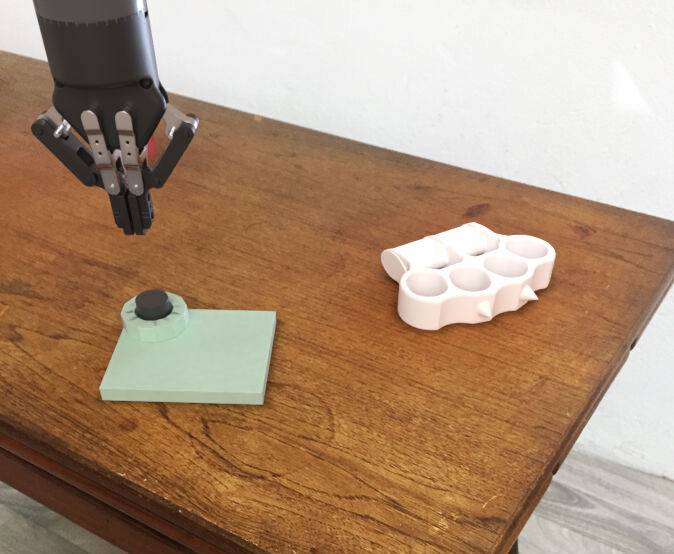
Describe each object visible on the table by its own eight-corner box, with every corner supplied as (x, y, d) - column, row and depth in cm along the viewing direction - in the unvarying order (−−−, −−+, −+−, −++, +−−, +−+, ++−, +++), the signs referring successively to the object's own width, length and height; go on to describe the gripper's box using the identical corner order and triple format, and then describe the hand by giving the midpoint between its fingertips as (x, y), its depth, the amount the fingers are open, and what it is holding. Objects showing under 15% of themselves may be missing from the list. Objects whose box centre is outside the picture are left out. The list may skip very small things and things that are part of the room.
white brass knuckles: (487, 234, 85) (579, 296, 76) (354, 279, 78) (438, 352, 69) (492, 206, 83) (587, 267, 74) (355, 250, 76) (442, 323, 67)
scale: (102, 400, 65) (94, 373, 63) (135, 316, 73) (129, 290, 71) (263, 404, 64) (260, 378, 62) (276, 320, 73) (275, 294, 71)
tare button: (134, 321, 68) (131, 307, 67) (142, 302, 70) (139, 288, 69) (167, 322, 68) (164, 308, 67) (173, 303, 70) (171, 289, 69)
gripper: (-27, 15, 49) (46, 252, 61) (176, 18, 48) (208, 255, 61) (13, -16, 54) (72, 208, 66) (196, -14, 54) (221, 211, 66)
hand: (137, 230), depth 63 cm, fingers closed
